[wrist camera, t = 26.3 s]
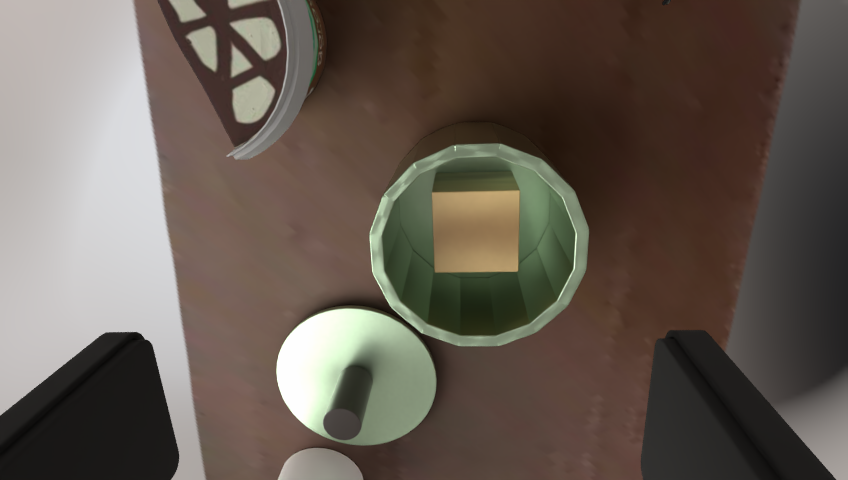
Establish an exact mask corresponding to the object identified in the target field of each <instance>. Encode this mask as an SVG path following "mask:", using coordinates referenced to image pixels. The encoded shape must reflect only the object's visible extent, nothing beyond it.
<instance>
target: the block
mask: <svg viewBox="0 0 848 480" xmlns="http://www.w3.org/2000/svg"><path fill="white" fill-rule="evenodd" d="M432 220H433V248H434V272H435V273H447V272H518V271H519V228H520V189H519V187H518V184H517V182H516V180H515V177H514V175H513V173H512V171H495V172H456V173H436V174H435V178H434V183H433V188H432Z"/></svg>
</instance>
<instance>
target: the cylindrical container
mask: <svg viewBox="0 0 848 480" xmlns="http://www.w3.org/2000/svg"><path fill="white" fill-rule="evenodd" d="M278 480H363V476H362V473H361V472H360V470H359V468H358V467H357V466H356V464H355V463H354V462H353V461H352V460H350V459H349V458H348V457H347V456H345V455H343V454H341V453H339V452H337V451H334V450H330V449H326V448H310V449H305V450H302V451H299V452H297V453H295V454H293V455H292V456H291V457H290V458H289V459H288V460H287V461H286V462H285V464H284V466H283V468H282V471H281V473H280V475H279V478H278Z"/></svg>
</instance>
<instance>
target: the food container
mask: <svg viewBox="0 0 848 480" xmlns="http://www.w3.org/2000/svg"><path fill="white" fill-rule="evenodd" d="M158 3H159V5H160V7H161V10H162V12H163V14H164V17H165V19H166V21H167V23H168V25H169V27H170V30H171V32H172V34H173V36H174V38H175V40H176V42H177V44H178V45H179V47H180V49H181V51H182V52H183V54H184V56H185V58H186V59H187V61H188V63H189V64H190V66H191V67H192V69H193V71H194V72H195V74H196V76H197V78H198V79H199V81H200V83H201V85H202V86H203V88H204V90H205V92H206V93H207V95H208V97H209V99H210V101H211V103H212V105H213V107H214V109H215V111H216V113H217V114H218V116H219V118H220V120H221V122H222V124H223V126H224V128H225V130H226V132H227V134H228V136H229V138H230V140H231V141H232V143H233V145H234V147H235V149H234V150H233V151H232V152H230V153H229V154H228V155H227V157H229V156H232V155H234V158H235V159H250V158H252V157H254V156H256V155H257V154H259V153H261V152H263V151H264V150H266V149H267V148H268V147H269V146H271V145H272V144H273V143H275V142H276V141H277V140H278V139H279V138H280V137H281V136H282V135H283V134H284V132H285V131H286V130H287V129H288V128H289V127H290V125H291V124H292V122H293V121H294V119H295V117H296V116H297V114H298V113H299V111H300V109H301V106H302V104H303V102H304V100H305V99H306V98H307V97H308V96H309V95H310V93H311V92H312V91H313V90H314V89H315V87H316V85H317V83H318V81H319V78H320V76H321V74H322V72H323V70H324V68H325V59H326V51H327V37H326V30H325V24H324V21H323V18H322V15H321V12H320V10H319V8H318V6H317V4H316V2H315V0H158Z"/></svg>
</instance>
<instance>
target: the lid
mask: <svg viewBox="0 0 848 480" xmlns="http://www.w3.org/2000/svg"><path fill="white" fill-rule="evenodd" d="M277 381H278V385H279V389H280V392H281V394H282V397H283V399H284V401H285V403H286V404H287V406H288V407H289V409H290V410H291V412H292V413H293V414H294V415H295V416H296V417H297V418H298V419H299V420H300V421H301V422H302V423H303V424H304V425H305V426H307V427H308V428H310V429H311V430H313V431H314V432H316V433H318V434H320V435H321V436H323V437H326V438H328V439H331V440H333V441H337V442H340V443H345V444H351V445H376V444H382V443H386V442H390V441H393V440H395V439H397V438H400V437H402V436H404V435H405V434H407V433H409V432H410V431H411V430H413V429H414V428H415V427H416V426H417V425H418V424H419V423H420V422H421V421H422V420H423V419H424V418H425V416H426V415H427V414H428V412H429V410H430V408H431V406H432V404H433V401H434V398H435V393H436V385H437V375H436V367H435V364H434V360H433V357H432V355H431V353H430V351H429V349H428V347H427V346H426V344H425V342H424V341H423V340H422V339H421V337H420V336H419V335H418V334H417V333H416V332H415V331H414V330H413V329H412V328H411V327H410V326H409V325H407V324H406V323H404V322H403V321H402V320H400V319H398V318H397V317H395V316H393V315H391V314H389V313H386V312H384V311H381V310H378V309H374V308H370V307H364V306H353V305H347V306H337V307H332V308H328V309H324V310H321V311H319V312H316V313H314V314H312V315H310V316H309V317H307V318H306V319H304V320H303V321H301V322H300V323H299V324H298V325H297V326H296V327H295V328H294V329H293V330H292V331H291V332H290V334H289V335H288V337H287V338H286V340H285V342H284V343H283V345H282V347H281V350H280V352H279V356H278V361H277Z"/></svg>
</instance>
